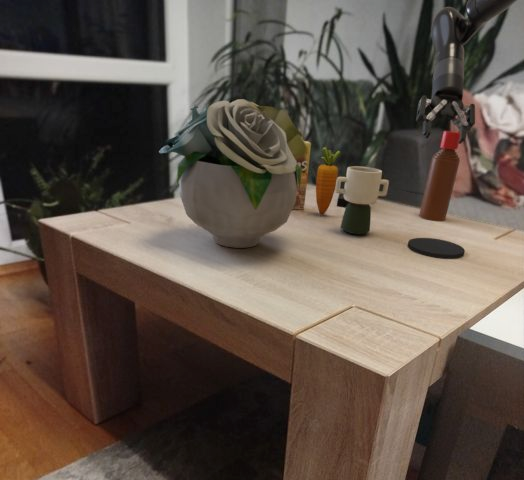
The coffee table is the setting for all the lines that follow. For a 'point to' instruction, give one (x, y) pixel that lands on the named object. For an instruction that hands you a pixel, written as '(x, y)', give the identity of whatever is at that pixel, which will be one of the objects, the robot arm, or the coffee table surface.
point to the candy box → (302, 177)
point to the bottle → (439, 185)
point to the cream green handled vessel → (360, 196)
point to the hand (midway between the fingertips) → (444, 139)
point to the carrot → (326, 180)
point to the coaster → (436, 248)
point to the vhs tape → (342, 200)
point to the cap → (450, 140)
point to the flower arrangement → (238, 170)
